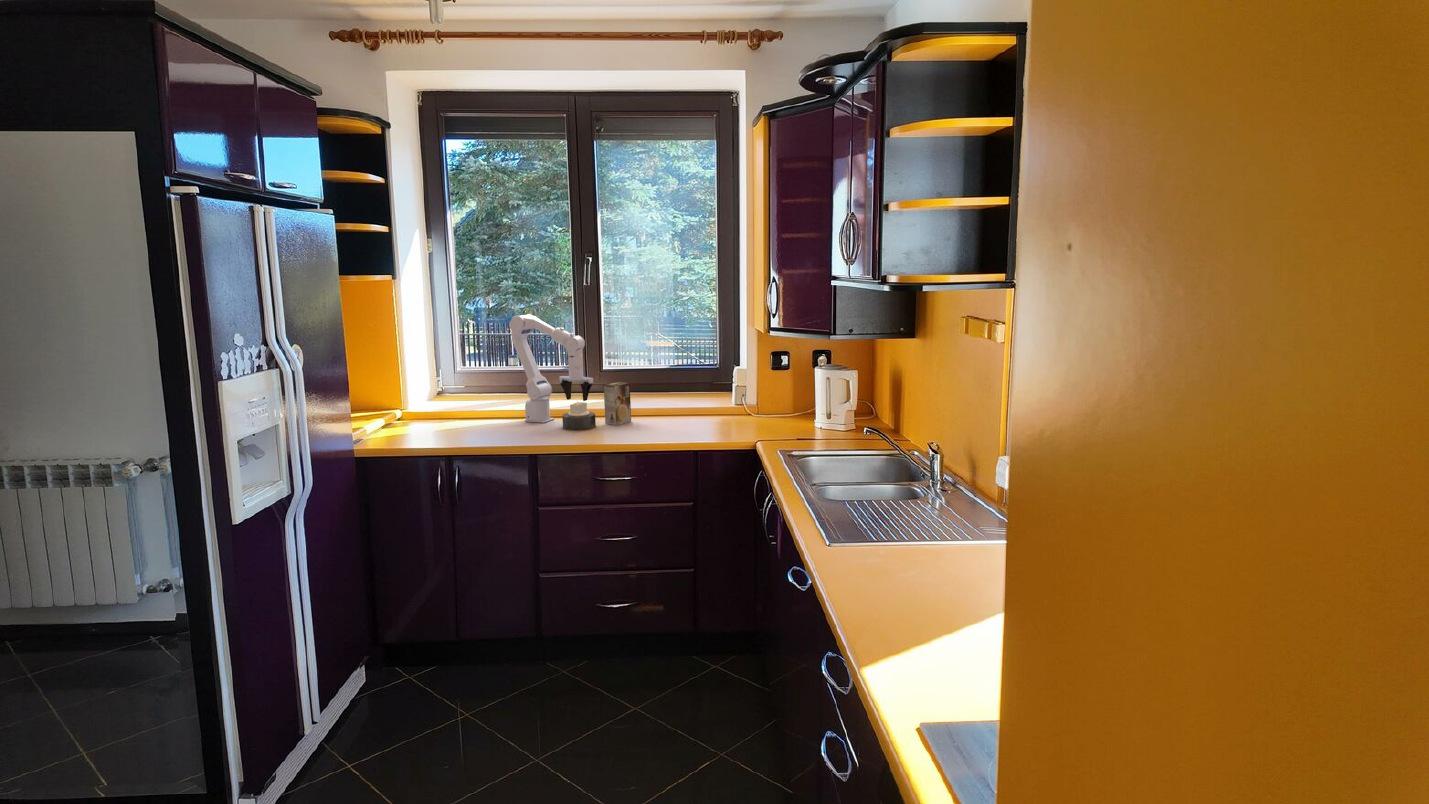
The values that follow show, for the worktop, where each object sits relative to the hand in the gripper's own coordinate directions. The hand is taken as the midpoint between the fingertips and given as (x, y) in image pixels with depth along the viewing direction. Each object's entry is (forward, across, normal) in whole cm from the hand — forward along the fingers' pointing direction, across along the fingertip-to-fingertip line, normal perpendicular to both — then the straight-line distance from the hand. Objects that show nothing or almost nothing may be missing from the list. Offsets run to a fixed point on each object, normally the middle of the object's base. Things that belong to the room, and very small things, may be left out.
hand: (576, 399), depth 336 cm
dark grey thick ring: (+10, +4, -5) cm, 11 cm away
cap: (+7, +4, -5) cm, 9 cm away
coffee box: (+10, +14, +8) cm, 19 cm away
